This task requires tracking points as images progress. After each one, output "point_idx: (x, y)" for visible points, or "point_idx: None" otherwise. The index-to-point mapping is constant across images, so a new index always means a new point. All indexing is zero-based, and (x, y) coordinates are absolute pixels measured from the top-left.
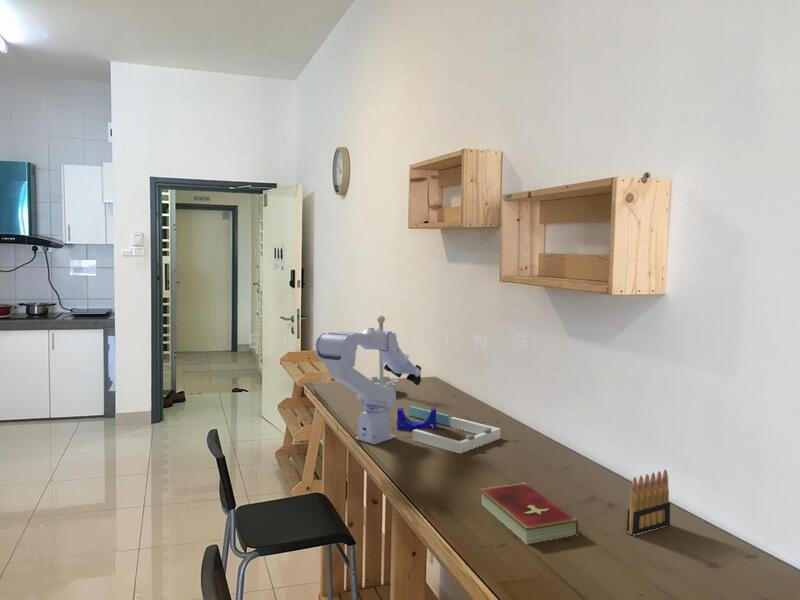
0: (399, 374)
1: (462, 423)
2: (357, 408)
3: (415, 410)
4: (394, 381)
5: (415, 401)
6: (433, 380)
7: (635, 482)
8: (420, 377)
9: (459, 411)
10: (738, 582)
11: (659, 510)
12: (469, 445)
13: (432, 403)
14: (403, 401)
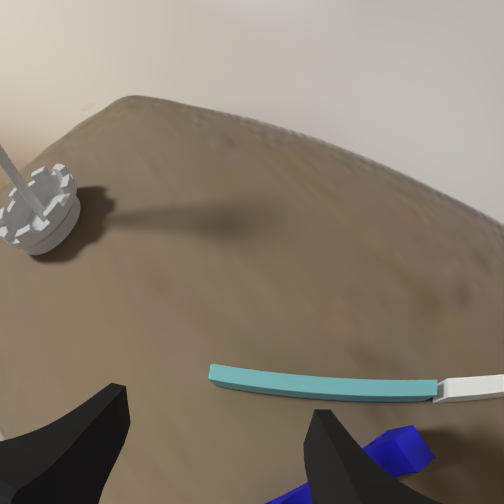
0: (119, 430)
1: (491, 394)
2: (33, 382)
3: (251, 387)
4: (62, 188)
5: (152, 227)
6: (132, 104)
7: None
8: (349, 434)
9: (336, 235)
10: None
11: None
12: None
13: (209, 215)
14: (120, 247)
